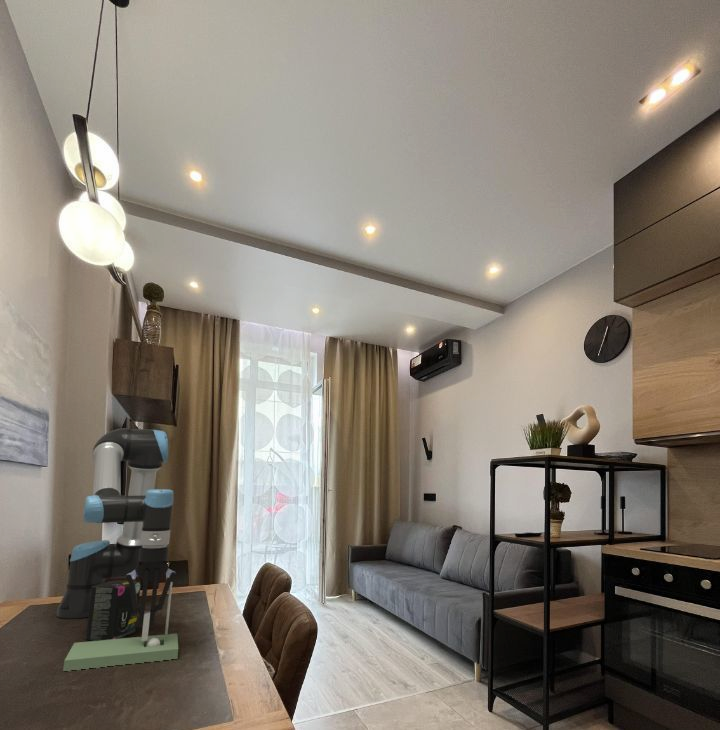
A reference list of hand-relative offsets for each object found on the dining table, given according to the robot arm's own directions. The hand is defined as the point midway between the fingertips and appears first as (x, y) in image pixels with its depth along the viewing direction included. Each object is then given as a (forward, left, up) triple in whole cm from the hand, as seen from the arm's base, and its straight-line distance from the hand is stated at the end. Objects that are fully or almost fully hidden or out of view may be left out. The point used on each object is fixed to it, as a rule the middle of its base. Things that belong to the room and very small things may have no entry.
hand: (144, 639), depth 130 cm
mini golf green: (0, -5, -4) cm, 6 cm away
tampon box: (-20, -10, -4) cm, 23 cm away
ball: (0, +2, -2) cm, 3 cm away
